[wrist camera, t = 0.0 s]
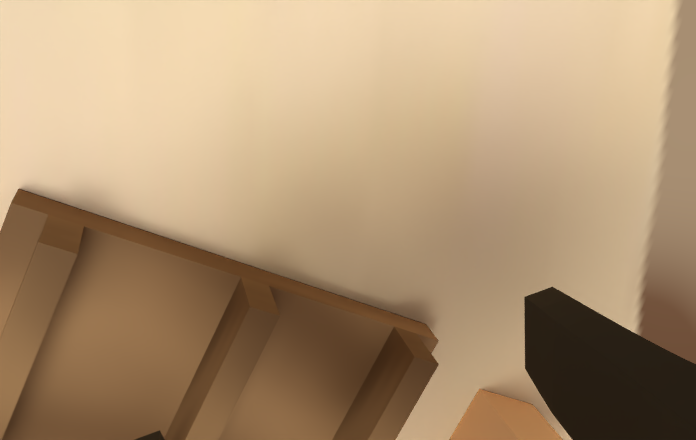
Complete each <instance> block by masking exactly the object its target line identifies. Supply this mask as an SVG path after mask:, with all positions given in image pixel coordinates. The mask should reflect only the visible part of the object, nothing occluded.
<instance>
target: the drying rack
mask: <svg viewBox="0 0 696 440" xmlns="http://www.w3.org/2000/svg"><path fill="white" fill-rule="evenodd" d="M437 342H438V339H437V338H436V337H435V336H434V334H433V333H432V332H431V330H430V329H429V328H428V326H427V325H426V324H423V323H420V322H417V321H414V320H411V319H408V318H405V317H402V316H399V315H396V314H393V313H390V312H387V311H384V310H381V309H378V308H375V307H372V306H369V305H366V304H363V303H360V302H357V301H354V300H351V299H348V298H345V297H342V296H339V295H336V294H333V293H330V292H327V291H324V290H321V289H318V288H315V287H312V286H309V285H306V284H303V283H300V282H297V281H294V280H291V279H288V278H285V277H282V276H279V275H276V274H273V273H270V272H267V271H264V270H261V269H258V268H255V267H252V266H249V265H246V264H243V263H240V262H237V261H234V260H231V259H228V258H225V257H222V256H219V255H216V254H213V253H210V252H207V251H204V250H201V249H198V248H195V247H192V246H189V245H186V244H183V243H180V242H177V241H174V240H171V239H168V238H165V237H162V236H159V235H156V234H153V233H150V232H147V231H144V230H141V229H138V228H135V227H132V226H129V225H126V224H123V223H120V222H117V221H114V220H111V219H108V218H105V217H102V216H99V215H96V214H93V213H90V212H87V211H84V210H81V209H78V208H75V207H72V206H69V205H66V204H63V203H60V202H56V201H53V200H50V199H47V198H44V197H41V196H38V195H35V194H32V193H29V192H26V191H23V190H20V189H18V191H17V193H16V195H15V197H14V198H13V200H12V202H11V205H10V207H9V210H8V213H7V215H6V218H5V221H4V223H3V226H2V229H1V231H0V440H134V439H137V438H140V437H143V436H145V435H148V434H151V433H154V432H156V431H159V430H160V432H161V433H162V435H163V437H164V439H165V440H395V439H396V438H397V436H398V434H399V432H400V431H401V429H402V427H403V425H404V424H405V422H406V420H407V419H408V417H409V415H410V413H411V412H412V410H413V408H414V406H415V405H416V403H417V401H418V399H419V398H420V396H421V394H422V392H423V391H424V389H425V387H426V385H427V384H428V382H429V380H430V378H431V377H432V375H433V373H434V371H435V370H436V368H437V366H438V363H437V361H436V360H435V359H434V357H433V356H432V354H431V353H432V351H433V349H434V348H435V346H436V344H437Z"/></svg>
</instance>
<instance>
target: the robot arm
mask: <svg viewBox="0 0 696 440" xmlns="http://www.w3.org/2000/svg"><path fill="white" fill-rule="evenodd" d="M525 369H526V371H527V372H528V374H529V376H530V378H531V379H532V381H533V383H534V384H535V386H536V388H537V389H538V391H539V393H540V394H541V396H542V398H543V399H544V401H545V402H546V404H547V406H548V407H549V409H550V410H551V412H552V413H553V415H554V416H555V417H556V419H557V420H558V421H559V423H560V424H561V425H562V426H563V428H564V429H565V430H566V432H567V433H568V434H569V435H570V437H571V438H572V439H573V440H696V364H694V363H692V362H690V361H687V360H685V359H683V358H681V357H679V356H677V355H675V354H673V353H671V352H669V351H667V350H665V349H663V348H661V347H660V346H658V345H655V344H654V343H652V342H650V341H648V340H646V339H644V338H643V337H641V336H639V335H637V334H635V333H633V332H631V331H630V330H628V329H626V328H624V327H622V326H620V325H619V324H617V323H615V322H613V321H612V320H610V319H608V318H606V317H604V316H603V315H601V314H599V313H597V312H596V311H594V310H592V309H590V308H589V307H587V306H585V305H583V304H582V303H580V302H578V301H576V300H575V299H573V298H571V297H569V296H568V295H566V294H564V293H562V292H561V291H559V290H557V289H555V288H553V287H551V288H548V289H545V290H542V291H540V292H537V293H534V294H531V295H529V296H526V297H525ZM134 440H165V439H164V437H163V435H162V433H161V432H160V430H159V431H156V432H154V433H151V434H148V435H145V436H143V437H140V438H137V439H134Z"/></svg>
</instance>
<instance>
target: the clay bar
mask: <svg viewBox="0 0 696 440" xmlns="http://www.w3.org/2000/svg"><path fill="white" fill-rule="evenodd" d="M449 440H563V439H562V438H561V437H560V436H559V435H558V434H557V432H556V431H555V430H554V429H553V428H552V427H551V425H550V424H549V423H548V422H547V421H546V420H545V419H544V417H543V416H542V415H541V414H540V413H539V412H538V410H537V409H536V408H535V407H534V406H533V405H532V404H529V403H526V402H523V401H519V400H516V399H512V398H509V397H505V396H502V395H498V394H495V393H492V392H488V391H485V390H481V389H479V390H478V392H477V394H476V396H475V397H474V399H473V401H472V402H471V404H470V406H469V407H468V409H467V411H466V412H465V414H464V416H463V417H462V419H461V421H460V423H459V424H458V426H457V428H456V429H455V431H454V433H453V434H452V436H451V438H450V439H449Z"/></svg>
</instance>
